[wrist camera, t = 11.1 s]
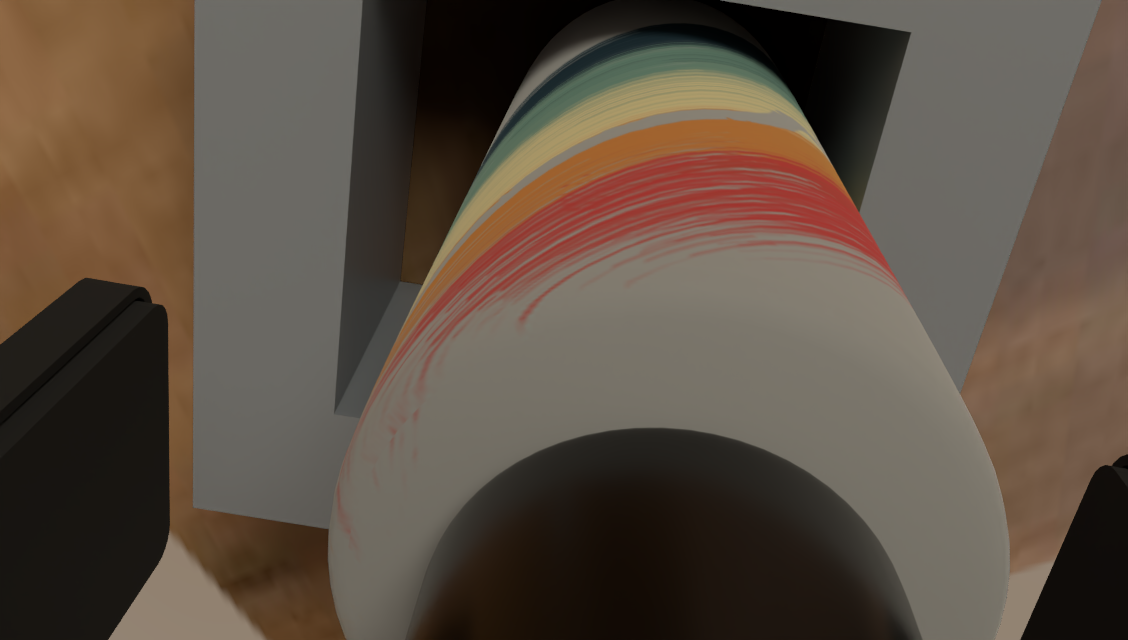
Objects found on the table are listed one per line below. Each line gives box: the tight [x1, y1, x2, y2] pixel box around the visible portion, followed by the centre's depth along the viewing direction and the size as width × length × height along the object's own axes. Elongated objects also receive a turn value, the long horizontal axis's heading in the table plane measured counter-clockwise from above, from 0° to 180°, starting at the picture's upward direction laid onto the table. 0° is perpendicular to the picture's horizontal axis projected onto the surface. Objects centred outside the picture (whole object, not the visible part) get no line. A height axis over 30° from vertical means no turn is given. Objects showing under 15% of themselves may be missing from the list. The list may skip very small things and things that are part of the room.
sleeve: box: [193, 0, 1102, 529], centre depth 20 cm, size 13×13×6 cm
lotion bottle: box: [328, 0, 1010, 640], centre depth 13 cm, size 6×6×20 cm
